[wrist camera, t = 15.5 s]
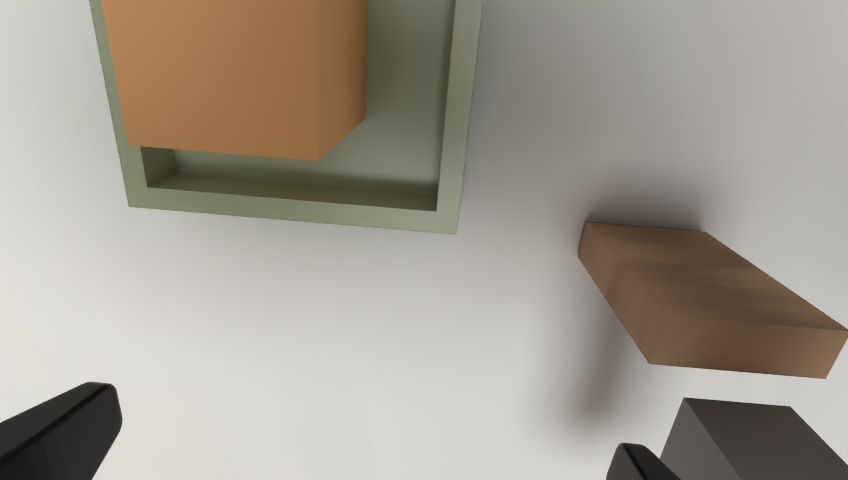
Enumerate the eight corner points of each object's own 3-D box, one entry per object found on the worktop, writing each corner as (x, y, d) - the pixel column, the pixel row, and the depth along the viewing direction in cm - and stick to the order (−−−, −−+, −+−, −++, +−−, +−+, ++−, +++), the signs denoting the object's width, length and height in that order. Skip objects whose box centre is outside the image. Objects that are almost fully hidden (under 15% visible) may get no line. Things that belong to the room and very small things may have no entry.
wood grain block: (705, 231, 19) (851, 331, 12) (693, 266, 19) (825, 378, 13) (585, 221, 19) (665, 315, 12) (577, 256, 19) (649, 363, 13)
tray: (493, -151, 14) (505, -193, 12) (454, 210, 19) (456, 234, 16) (112, -183, 14) (45, -231, 12) (168, 186, 19) (128, 206, 16)
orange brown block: (369, -36, 15) (313, -103, 8) (365, 118, 17) (317, 161, 10) (236, -48, 15) (79, -123, 8) (248, 108, 17) (127, 145, 10)
